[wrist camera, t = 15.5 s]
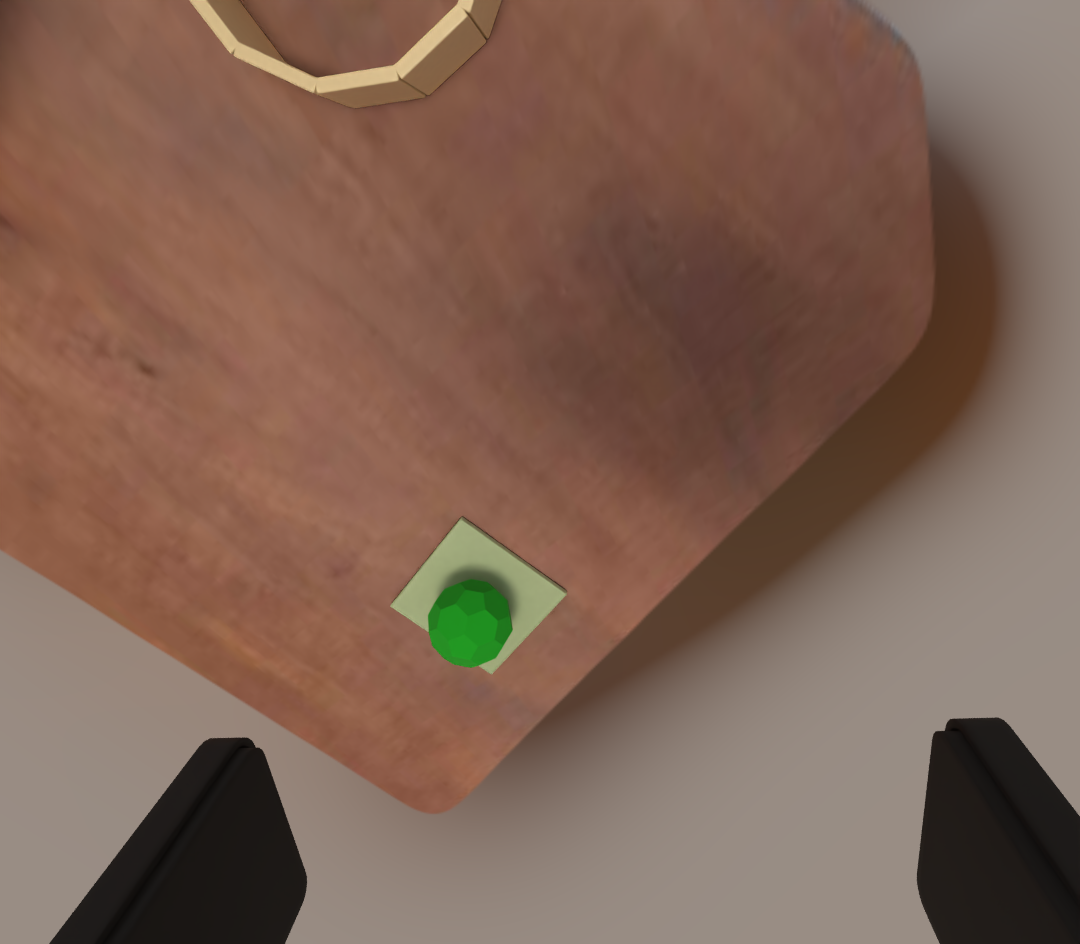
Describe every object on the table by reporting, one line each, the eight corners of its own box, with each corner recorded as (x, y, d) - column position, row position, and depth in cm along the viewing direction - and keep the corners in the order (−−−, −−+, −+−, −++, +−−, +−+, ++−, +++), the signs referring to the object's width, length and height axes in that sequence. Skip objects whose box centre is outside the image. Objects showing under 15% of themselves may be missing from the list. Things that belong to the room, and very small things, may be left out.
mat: (461, 516, 40) (460, 518, 39) (567, 591, 41) (566, 594, 40) (391, 603, 42) (389, 606, 42) (492, 670, 44) (491, 674, 43)
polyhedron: (462, 644, 42) (446, 694, 38) (424, 583, 41) (402, 628, 37) (531, 617, 41) (522, 666, 37) (494, 554, 40) (480, 597, 35)
